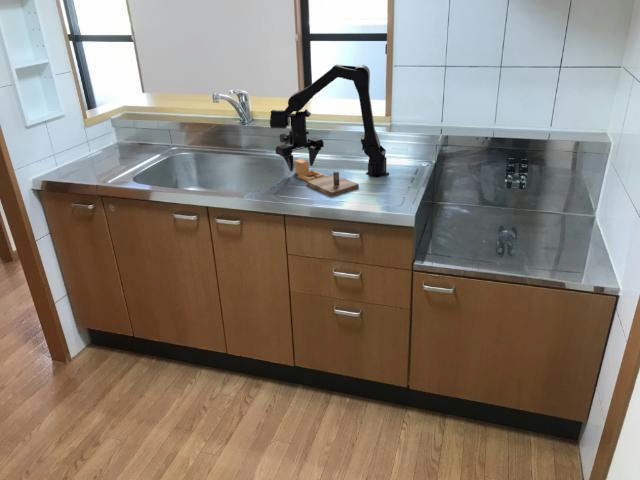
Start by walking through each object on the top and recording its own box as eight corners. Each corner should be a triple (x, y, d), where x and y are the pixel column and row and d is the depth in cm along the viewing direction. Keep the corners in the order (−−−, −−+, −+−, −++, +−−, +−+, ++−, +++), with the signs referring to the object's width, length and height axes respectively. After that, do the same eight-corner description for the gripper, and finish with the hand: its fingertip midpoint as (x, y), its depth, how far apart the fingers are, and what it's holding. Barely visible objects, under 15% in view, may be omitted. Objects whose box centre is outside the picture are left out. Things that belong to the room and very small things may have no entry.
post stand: (358, 188, 183) (358, 171, 180) (331, 196, 177) (330, 179, 174) (333, 177, 194) (332, 162, 191) (306, 185, 188) (306, 169, 185)
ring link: (324, 177, 195) (323, 164, 192) (308, 181, 191) (308, 168, 189) (306, 170, 203) (305, 157, 201) (291, 174, 200) (290, 161, 198)
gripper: (307, 120, 203) (309, 158, 210) (266, 129, 194) (269, 168, 201) (323, 125, 195) (325, 165, 202) (281, 134, 185) (285, 175, 192)
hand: (301, 168), depth 199 cm, fingers open, 9 cm apart
